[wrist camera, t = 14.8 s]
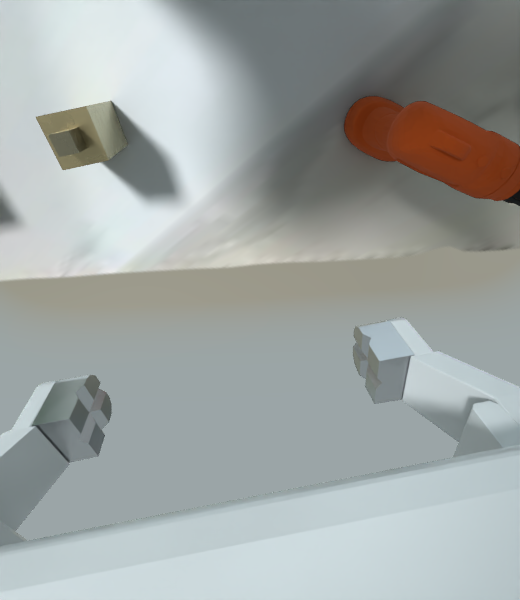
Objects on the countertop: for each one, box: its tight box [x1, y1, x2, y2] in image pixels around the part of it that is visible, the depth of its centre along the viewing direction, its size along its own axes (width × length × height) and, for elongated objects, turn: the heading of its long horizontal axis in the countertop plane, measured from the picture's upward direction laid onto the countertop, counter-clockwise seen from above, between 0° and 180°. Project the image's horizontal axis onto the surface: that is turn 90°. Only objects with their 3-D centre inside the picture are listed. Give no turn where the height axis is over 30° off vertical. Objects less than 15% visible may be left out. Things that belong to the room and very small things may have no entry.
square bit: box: [36, 101, 128, 170], centre depth 25 cm, size 4×4×9 cm
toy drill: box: [344, 96, 520, 206], centre depth 27 cm, size 5×19×15 cm, turn 68°
